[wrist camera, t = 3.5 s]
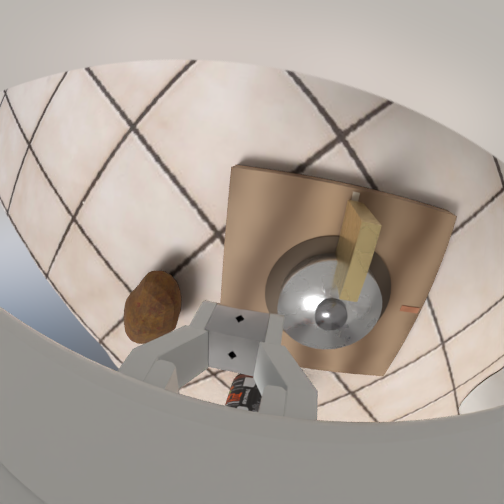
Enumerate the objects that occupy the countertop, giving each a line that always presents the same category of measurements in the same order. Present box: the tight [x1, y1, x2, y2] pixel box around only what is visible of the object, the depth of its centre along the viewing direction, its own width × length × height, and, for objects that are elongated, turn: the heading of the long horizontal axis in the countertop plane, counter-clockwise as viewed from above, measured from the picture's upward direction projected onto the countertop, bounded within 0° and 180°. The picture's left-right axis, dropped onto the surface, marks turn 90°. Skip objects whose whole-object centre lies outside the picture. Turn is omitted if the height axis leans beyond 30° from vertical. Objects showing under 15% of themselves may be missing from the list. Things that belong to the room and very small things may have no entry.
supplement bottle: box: [225, 374, 262, 412], centre depth 32 cm, size 6×6×11 cm
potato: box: [124, 271, 181, 344], centre depth 30 cm, size 7×12×7 cm, turn 152°
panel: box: [220, 165, 457, 376], centre depth 27 cm, size 22×22×2 cm
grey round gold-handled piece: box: [277, 200, 382, 349], centre depth 22 cm, size 15×10×6 cm, turn 173°
